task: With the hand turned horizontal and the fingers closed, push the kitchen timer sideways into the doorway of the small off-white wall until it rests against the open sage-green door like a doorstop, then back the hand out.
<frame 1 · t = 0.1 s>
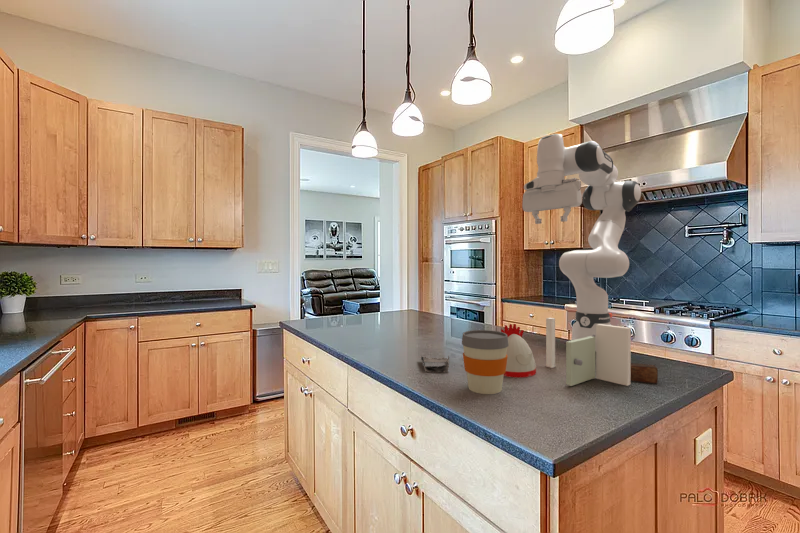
hand: (550, 222, 129), 48 cm above the counter, tool pointing down, fingers open, 8 cm apart
door: (583, 360, 107), point 7 cm above the counter, hinge at 86.0°
reusable coffee cup: (485, 389, 104), on the counter
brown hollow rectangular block: (435, 368, 125), on the counter
kitchen timer: (512, 371, 120), on the counter
brick: (635, 380, 110), on the counter
door frame: (540, 364, 126), on the counter
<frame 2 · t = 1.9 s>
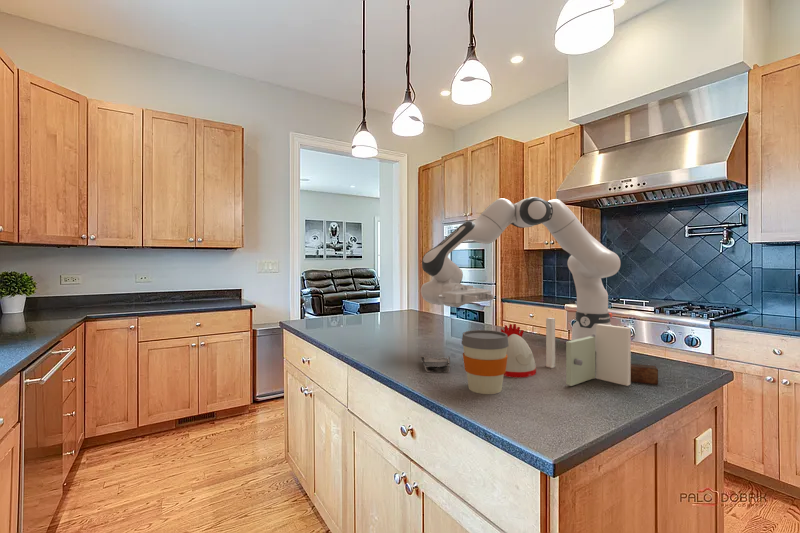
hand: (484, 298, 128), 22 cm above the counter, tool horizontal, fingers open, 7 cm apart
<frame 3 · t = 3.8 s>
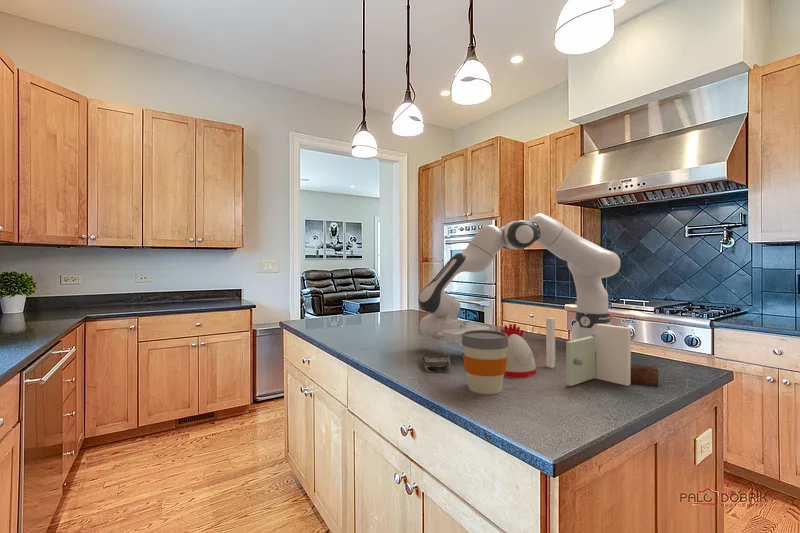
hand: (483, 337, 128), 9 cm above the counter, tool horizontal, fingers closed
brick: (635, 382, 109), on the counter
everything else where it was.
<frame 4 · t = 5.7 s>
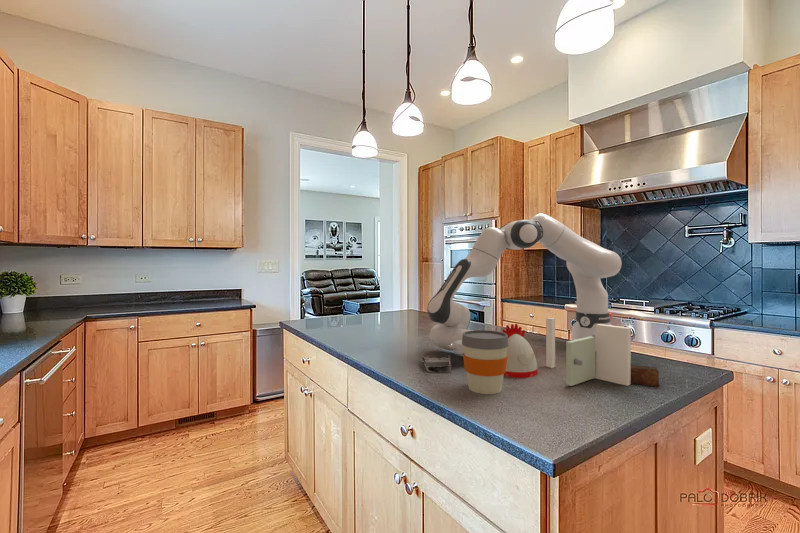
hand: (497, 348, 125), 6 cm above the counter, tool horizontal, fingers closed
kitchen timer: (514, 371, 120), on the counter, touching gripper
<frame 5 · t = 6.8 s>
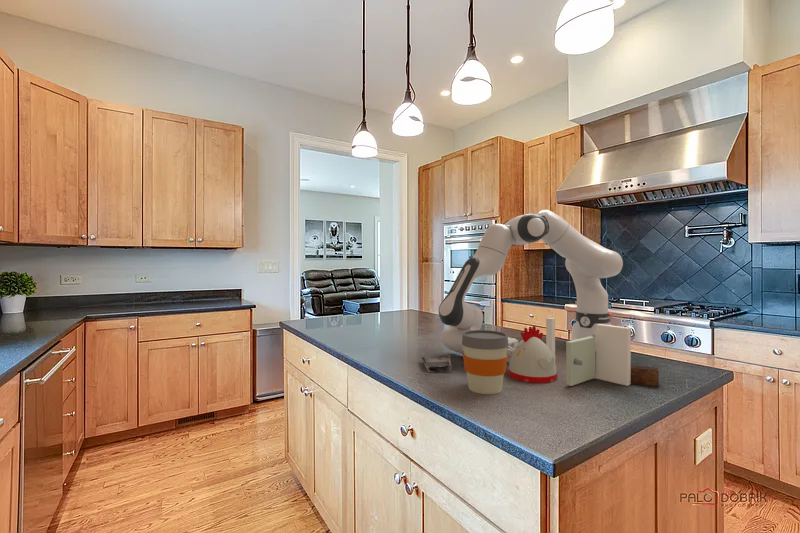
hand: (513, 352, 120), 6 cm above the counter, tool horizontal, fingers closed
kitchen timer: (532, 376, 115), on the counter, touching gripper
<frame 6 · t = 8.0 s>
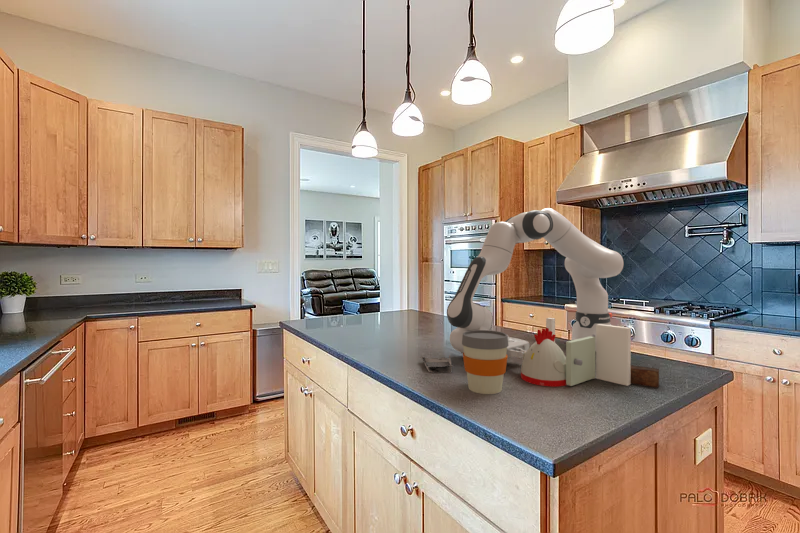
hand: (525, 354, 116), 6 cm above the counter, tool horizontal, fingers closed, pressing on kitchen timer
kitchen timer: (545, 379, 111), on the counter, touching gripper
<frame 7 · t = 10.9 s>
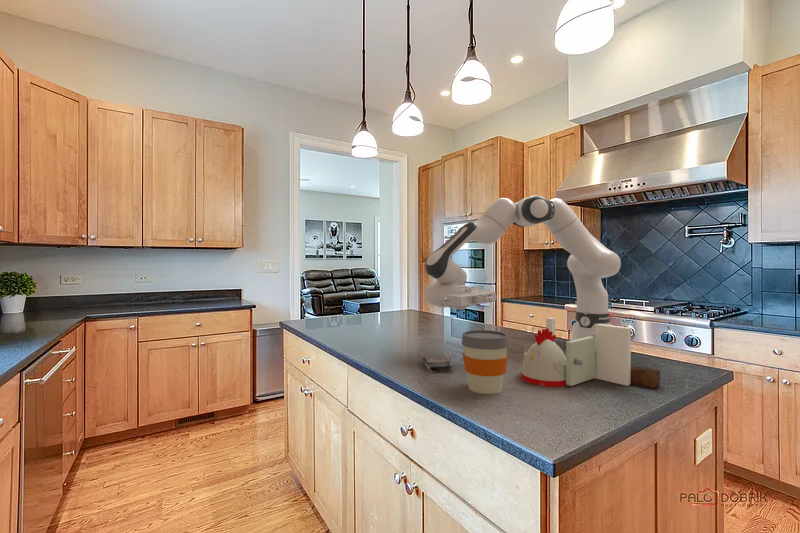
hand: (490, 299, 127), 22 cm above the counter, tool horizontal, fingers closed
kitchen timer: (545, 379, 111), on the counter
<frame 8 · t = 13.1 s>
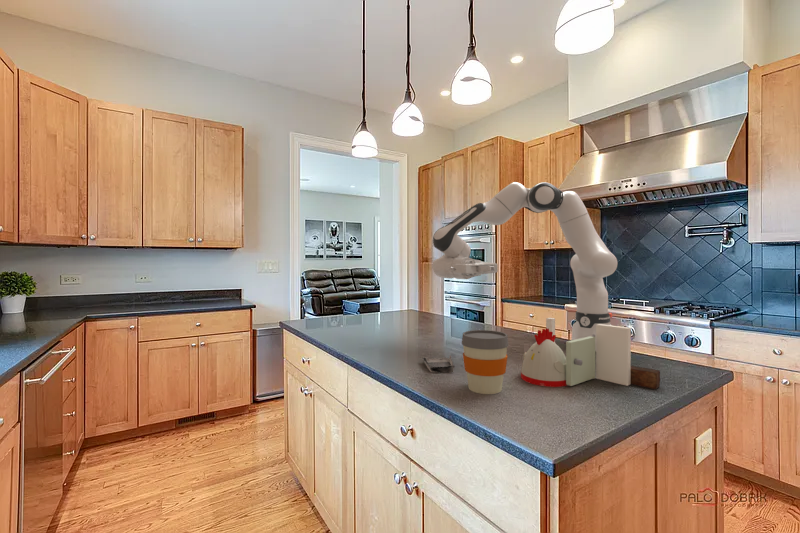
hand: (492, 268, 140), 32 cm above the counter, tool horizontal, fingers closed
at the end: kitchen timer inside the target area (0.4 cm from its centre), on the counter; door at +86° (first picture: +86°); kitchen timer tilted 0° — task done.
